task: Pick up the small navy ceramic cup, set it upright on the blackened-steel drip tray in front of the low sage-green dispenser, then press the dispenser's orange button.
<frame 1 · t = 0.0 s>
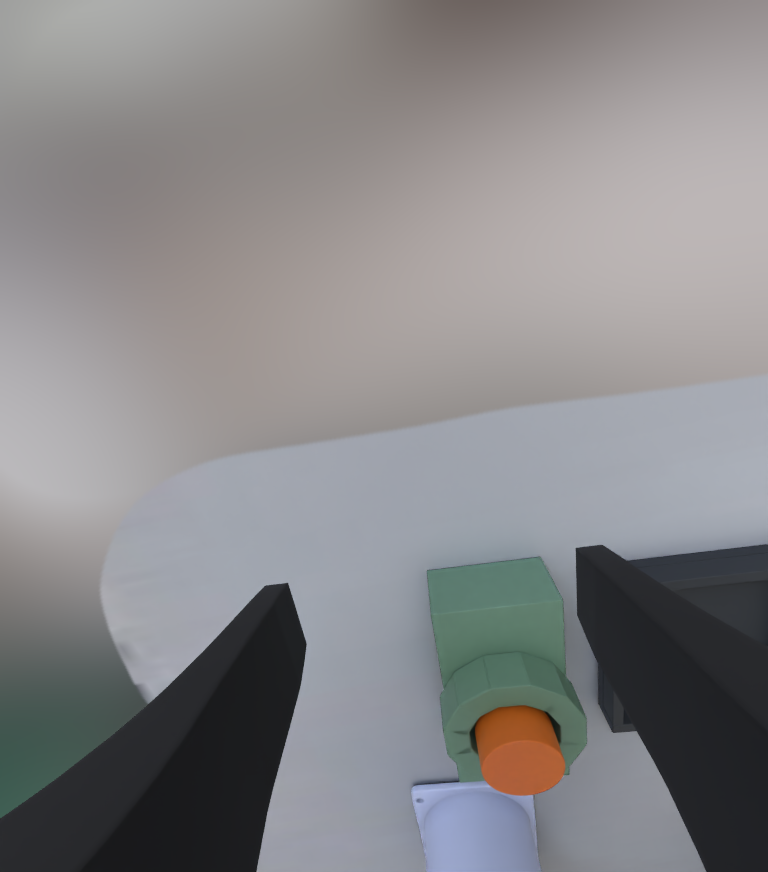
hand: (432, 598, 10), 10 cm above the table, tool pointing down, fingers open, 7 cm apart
button: (517, 748, 19), point 5 cm above the table, slide at 0.1 cm
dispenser: (492, 649, 24), on the table
drip tray: (683, 629, 23), on the table
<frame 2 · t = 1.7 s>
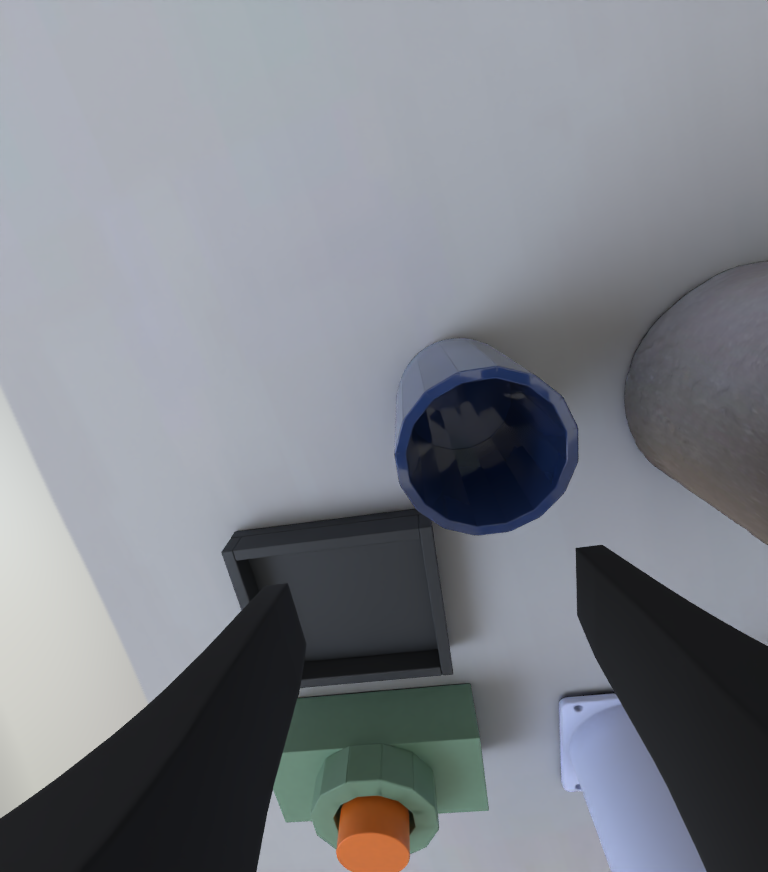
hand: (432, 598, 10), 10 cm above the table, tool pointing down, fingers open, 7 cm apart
button: (373, 833, 21), point 5 cm above the table, slide at 0.1 cm
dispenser: (379, 726, 26), on the table
pillar candle: (731, 377, 18), on the table
drip tray: (347, 592, 23), on the table
cup: (455, 397, 19), on the table
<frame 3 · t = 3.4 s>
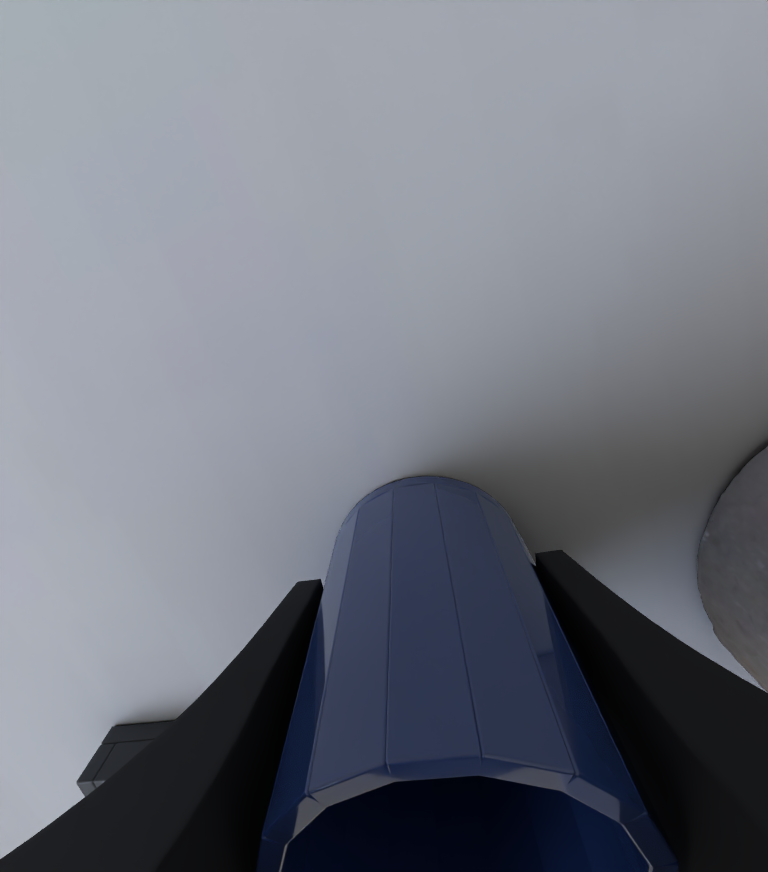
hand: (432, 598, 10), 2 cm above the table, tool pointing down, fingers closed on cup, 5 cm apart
drip tray: (281, 798, 16), on the table
cup: (427, 559, 12), on the table, touching gripper
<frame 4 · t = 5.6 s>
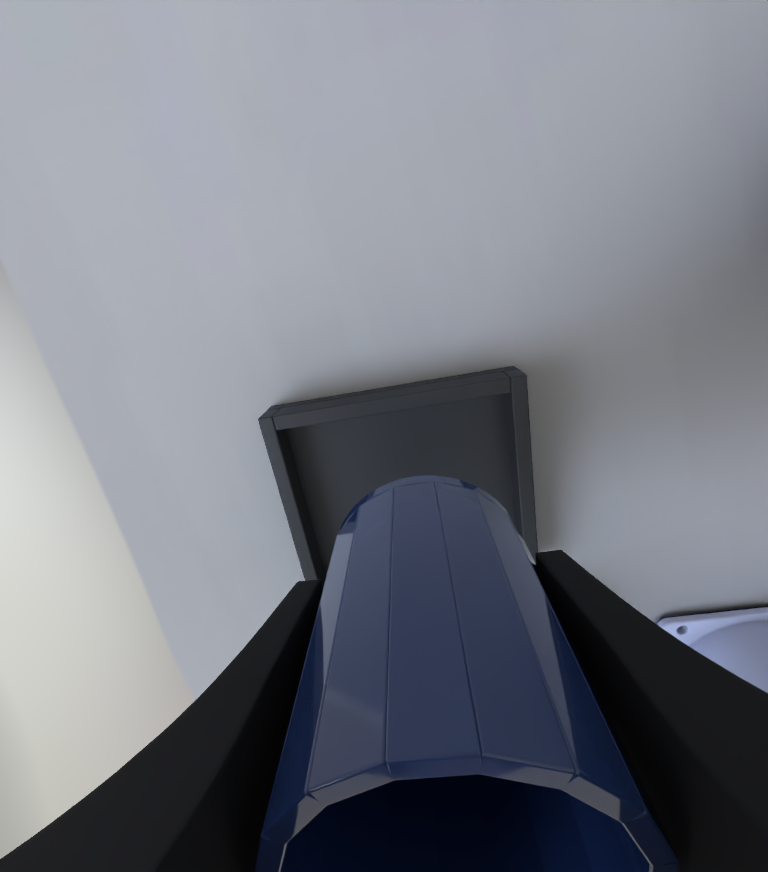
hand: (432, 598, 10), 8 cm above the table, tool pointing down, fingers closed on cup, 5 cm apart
drip tray: (406, 485, 19), on the table
cup: (426, 558, 12), point 7 cm above the table, touching gripper
when the fingers open (2 cm above the table, at t = 7.7 s): cup stays where it is, resting on drip tray.
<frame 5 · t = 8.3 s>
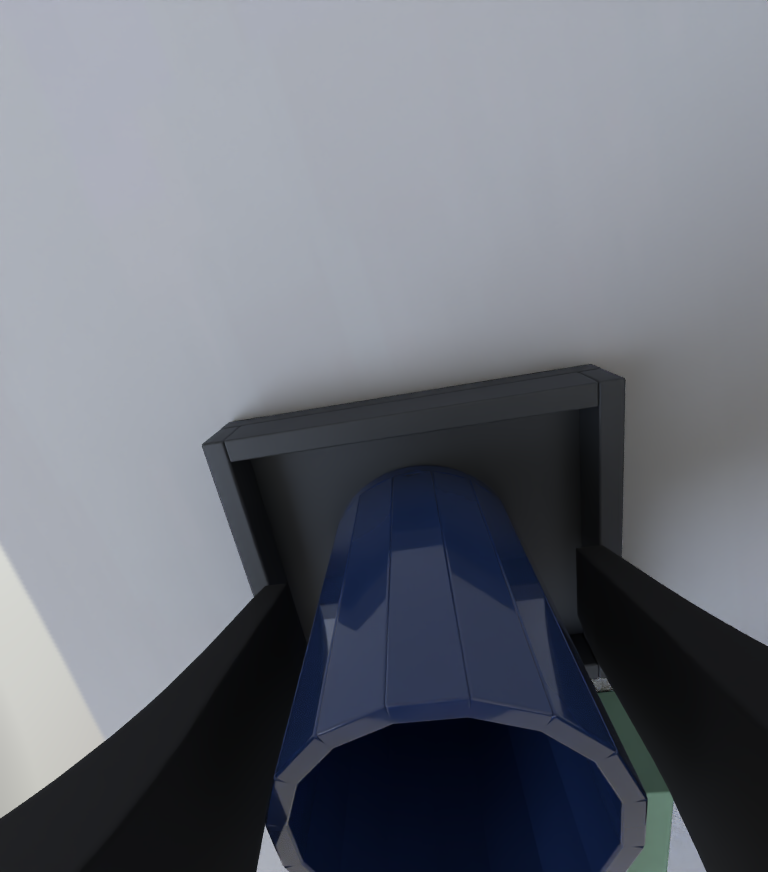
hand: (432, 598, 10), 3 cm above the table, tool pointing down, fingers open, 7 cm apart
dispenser: (462, 758, 16), on the table
drip tray: (425, 534, 13), on the table
cup: (424, 545, 12), point 1 cm above the table, touching drip tray
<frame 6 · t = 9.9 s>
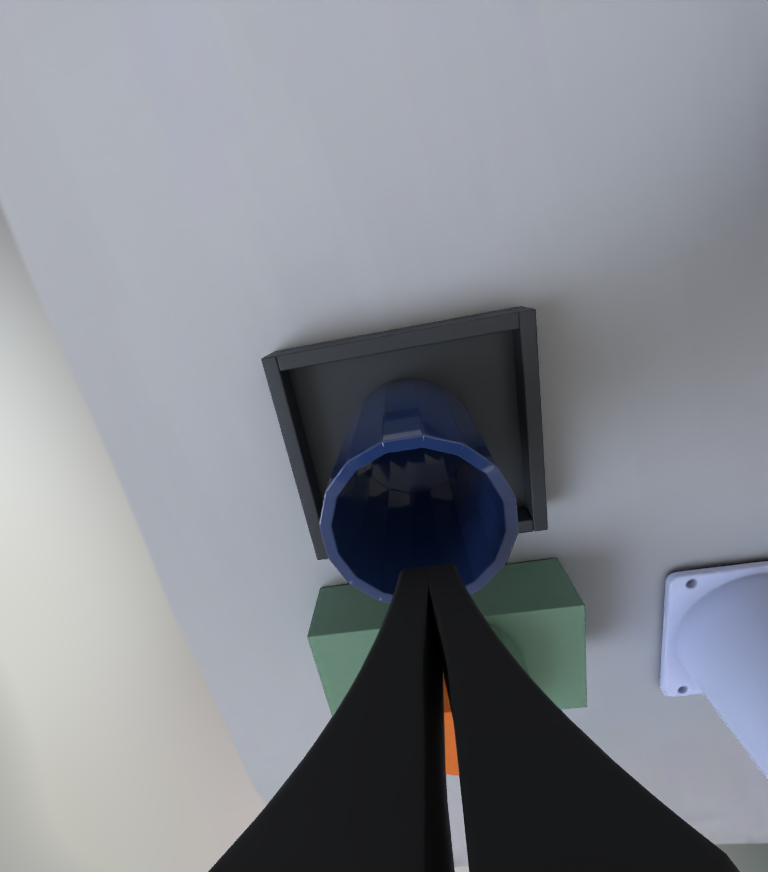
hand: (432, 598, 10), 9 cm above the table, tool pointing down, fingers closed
button: (456, 722, 17), point 5 cm above the table, slide at 0.1 cm
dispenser: (443, 619, 22), on the table
drip tray: (412, 434, 18), on the table
cup: (411, 438, 18), point 1 cm above the table, touching drip tray
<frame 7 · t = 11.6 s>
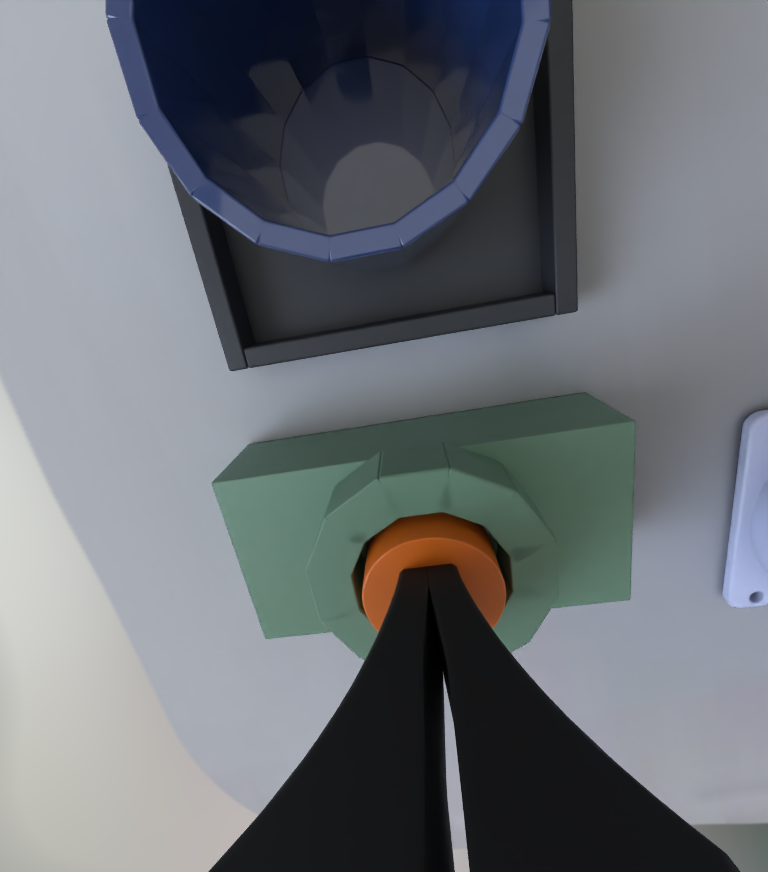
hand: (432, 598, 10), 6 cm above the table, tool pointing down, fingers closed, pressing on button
button: (431, 576, 11), point 5 cm above the table, slide at -0.7 cm, touching gripper
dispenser: (422, 494, 16), on the table
drip tray: (371, 177, 12), on the table
cup: (368, 171, 12), point 1 cm above the table, touching drip tray
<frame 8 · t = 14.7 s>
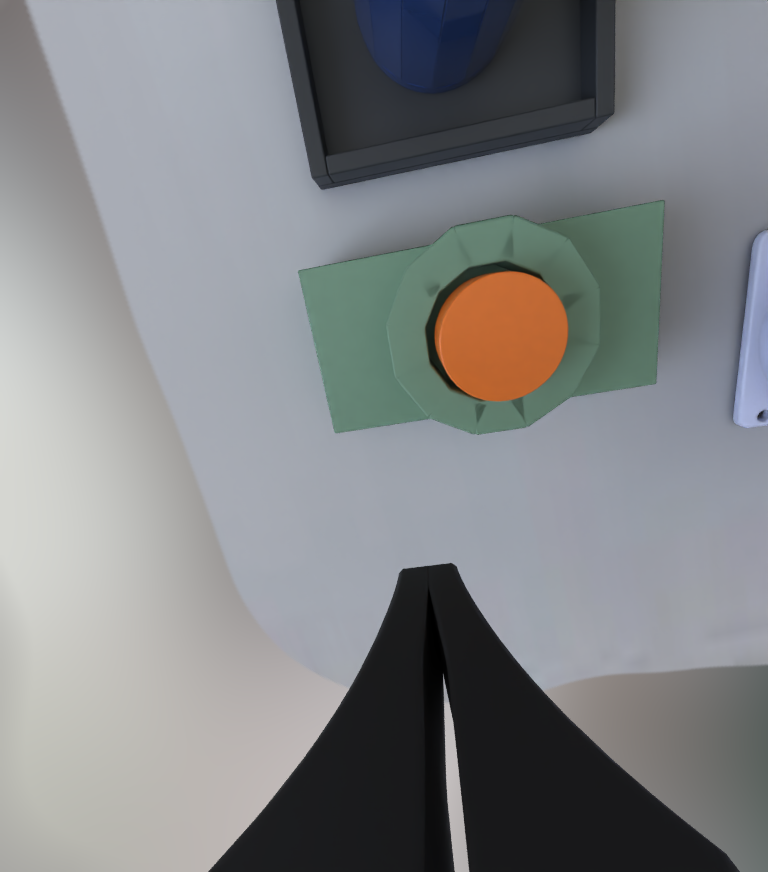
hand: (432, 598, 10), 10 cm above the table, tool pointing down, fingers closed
button: (496, 336, 12), point 5 cm above the table, slide at 0.1 cm
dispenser: (468, 321, 18), on the table
drip tray: (436, 7, 14), on the table
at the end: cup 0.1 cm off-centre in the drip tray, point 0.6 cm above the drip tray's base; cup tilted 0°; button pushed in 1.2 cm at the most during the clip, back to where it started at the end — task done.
